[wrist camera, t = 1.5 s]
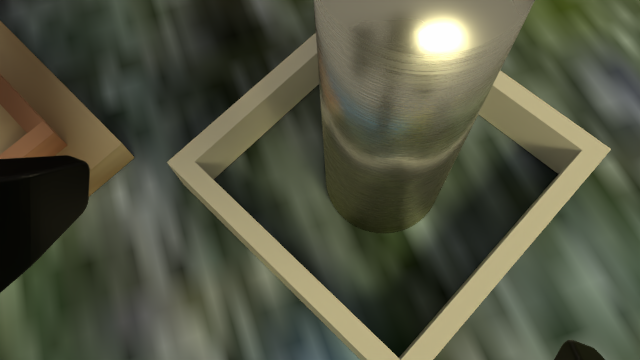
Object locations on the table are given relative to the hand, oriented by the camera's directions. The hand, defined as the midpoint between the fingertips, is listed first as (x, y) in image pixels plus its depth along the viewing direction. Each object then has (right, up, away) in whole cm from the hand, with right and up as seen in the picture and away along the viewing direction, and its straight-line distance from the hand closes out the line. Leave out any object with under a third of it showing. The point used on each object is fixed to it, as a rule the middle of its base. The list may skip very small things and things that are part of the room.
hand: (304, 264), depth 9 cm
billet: (+3, +1, +14) cm, 15 cm away
